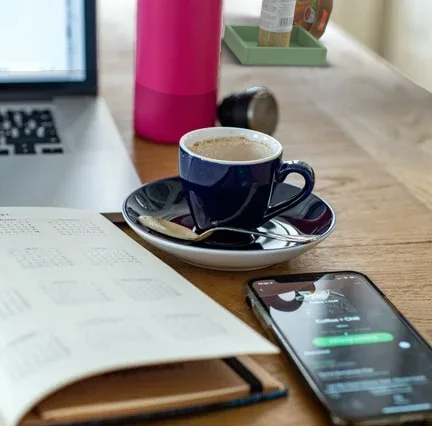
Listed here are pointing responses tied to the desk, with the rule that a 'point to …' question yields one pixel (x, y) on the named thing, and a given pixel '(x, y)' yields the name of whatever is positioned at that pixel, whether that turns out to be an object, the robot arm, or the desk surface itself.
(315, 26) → the tin
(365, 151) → the desk surface
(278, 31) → the sprinkles bottle
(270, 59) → the tray
